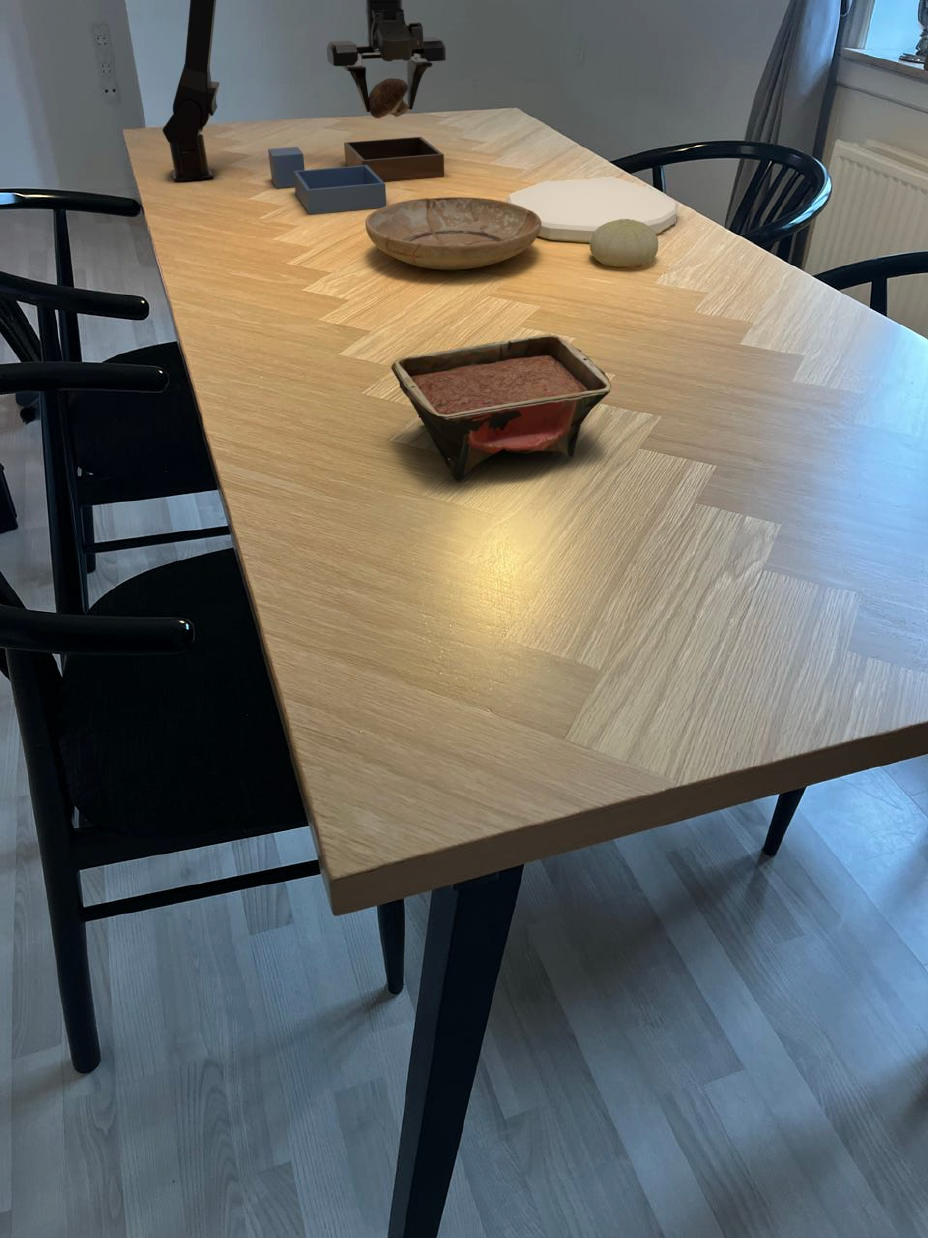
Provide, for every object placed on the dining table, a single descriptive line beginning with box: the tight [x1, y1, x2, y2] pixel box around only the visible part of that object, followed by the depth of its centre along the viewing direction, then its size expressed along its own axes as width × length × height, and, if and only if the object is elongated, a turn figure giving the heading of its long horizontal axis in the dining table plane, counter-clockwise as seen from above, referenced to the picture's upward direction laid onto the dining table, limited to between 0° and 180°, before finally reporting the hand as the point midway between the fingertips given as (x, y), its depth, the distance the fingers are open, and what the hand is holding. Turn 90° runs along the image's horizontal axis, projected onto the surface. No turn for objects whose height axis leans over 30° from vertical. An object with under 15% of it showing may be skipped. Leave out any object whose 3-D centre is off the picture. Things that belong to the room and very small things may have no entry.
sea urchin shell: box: [589, 219, 659, 268], centre depth 126 cm, size 9×8×8 cm
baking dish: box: [390, 333, 612, 483], centre depth 85 cm, size 14×18×10 cm
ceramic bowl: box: [364, 196, 541, 271], centre depth 127 cm, size 23×24×5 cm
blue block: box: [267, 146, 306, 189], centre depth 157 cm, size 5×5×5 cm
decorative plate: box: [506, 175, 679, 244], centre depth 141 cm, size 25×4×25 cm
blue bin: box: [293, 165, 387, 215], centre depth 150 cm, size 12×12×4 cm
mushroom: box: [368, 78, 410, 119], centre depth 159 cm, size 8×8×6 cm
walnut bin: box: [343, 136, 445, 183], centre depth 165 cm, size 14×14×4 cm
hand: (389, 110), depth 160 cm, fingers closed on mushroom, 7 cm apart
